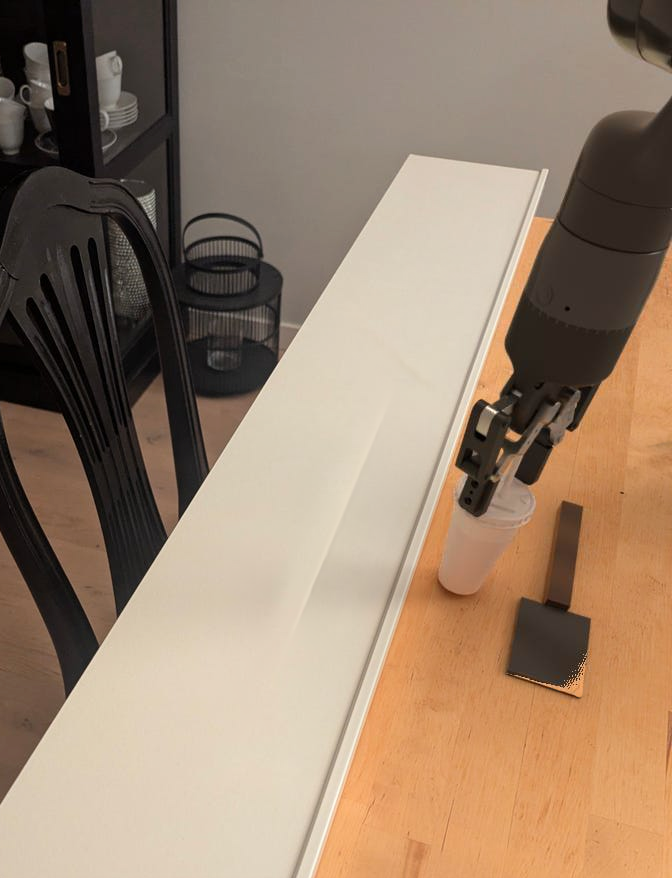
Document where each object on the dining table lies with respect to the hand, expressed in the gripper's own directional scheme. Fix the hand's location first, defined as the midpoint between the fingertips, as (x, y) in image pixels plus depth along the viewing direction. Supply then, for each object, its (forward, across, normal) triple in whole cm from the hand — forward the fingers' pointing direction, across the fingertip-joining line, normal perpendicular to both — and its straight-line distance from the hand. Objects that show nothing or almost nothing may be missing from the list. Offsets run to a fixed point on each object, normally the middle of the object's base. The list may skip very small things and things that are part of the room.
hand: (497, 493), depth 72 cm
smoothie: (+10, 0, 0) cm, 10 cm away
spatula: (+10, +7, -6) cm, 14 cm away
